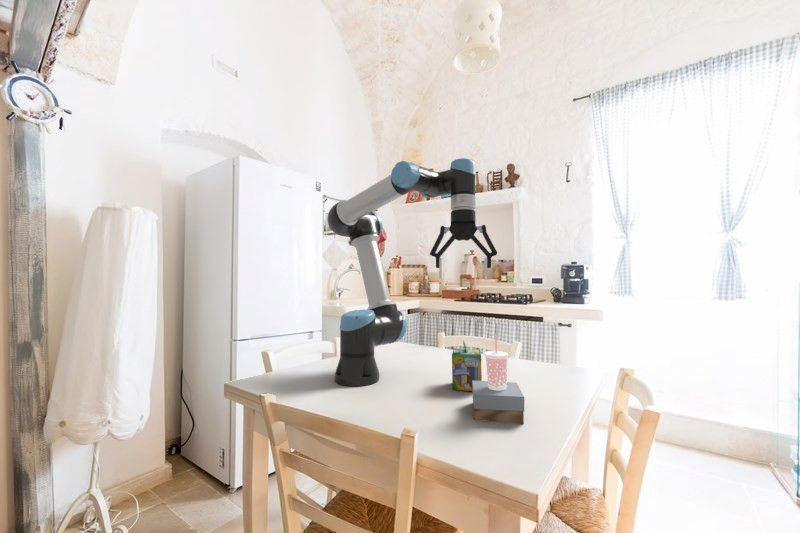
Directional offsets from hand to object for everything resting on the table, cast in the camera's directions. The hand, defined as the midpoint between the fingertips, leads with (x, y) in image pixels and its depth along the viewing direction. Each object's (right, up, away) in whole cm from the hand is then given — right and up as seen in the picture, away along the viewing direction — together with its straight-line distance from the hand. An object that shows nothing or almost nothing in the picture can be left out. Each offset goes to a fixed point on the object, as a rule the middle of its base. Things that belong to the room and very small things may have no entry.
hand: (463, 279), depth 110 cm
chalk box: (+2, -35, +5) cm, 36 cm away
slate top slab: (+6, -32, -16) cm, 36 cm away
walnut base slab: (+6, -35, -16) cm, 39 cm away
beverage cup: (+6, -28, -16) cm, 33 cm away
